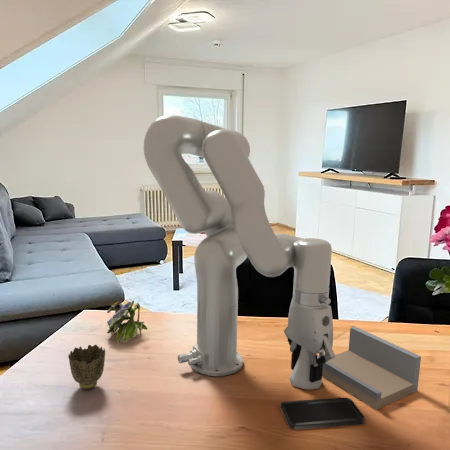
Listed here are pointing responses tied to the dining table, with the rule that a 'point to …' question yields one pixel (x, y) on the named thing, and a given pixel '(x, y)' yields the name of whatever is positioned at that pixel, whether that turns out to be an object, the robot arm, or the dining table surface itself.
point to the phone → (321, 413)
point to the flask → (303, 372)
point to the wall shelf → (374, 369)
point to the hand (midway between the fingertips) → (306, 373)
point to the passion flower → (130, 325)
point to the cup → (87, 365)
